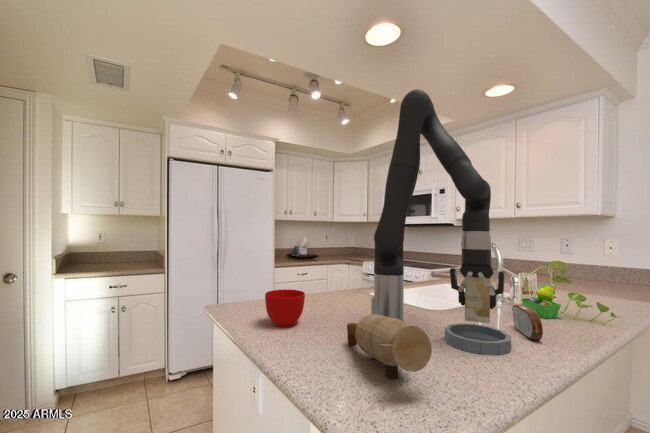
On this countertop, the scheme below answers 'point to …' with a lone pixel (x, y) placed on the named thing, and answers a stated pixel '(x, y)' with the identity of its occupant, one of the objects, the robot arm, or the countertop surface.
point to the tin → (527, 321)
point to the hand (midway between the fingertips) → (476, 306)
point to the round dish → (478, 339)
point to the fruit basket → (543, 303)
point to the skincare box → (477, 300)
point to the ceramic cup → (284, 306)
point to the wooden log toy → (391, 343)
